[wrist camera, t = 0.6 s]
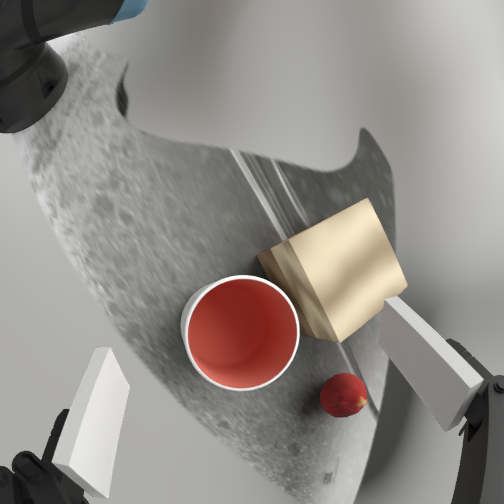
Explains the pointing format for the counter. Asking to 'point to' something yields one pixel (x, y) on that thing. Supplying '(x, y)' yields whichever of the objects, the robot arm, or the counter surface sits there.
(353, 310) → the block top
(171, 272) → the counter surface
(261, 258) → the block bottom
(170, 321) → the counter surface
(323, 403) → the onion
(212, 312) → the cup
